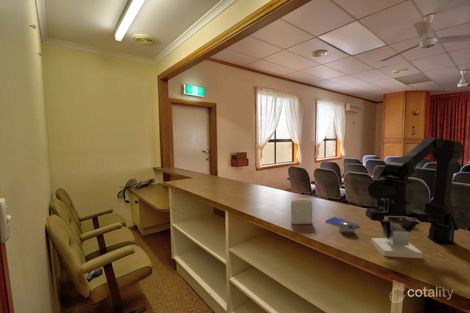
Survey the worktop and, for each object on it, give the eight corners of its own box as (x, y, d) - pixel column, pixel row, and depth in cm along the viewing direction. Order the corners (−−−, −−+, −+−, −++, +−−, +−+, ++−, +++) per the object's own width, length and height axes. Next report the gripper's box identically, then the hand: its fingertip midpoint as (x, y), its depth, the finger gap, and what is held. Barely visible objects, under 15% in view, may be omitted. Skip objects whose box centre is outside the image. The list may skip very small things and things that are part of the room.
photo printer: (292, 224, 106) (292, 199, 105) (290, 221, 111) (290, 197, 110) (313, 224, 106) (313, 199, 105) (310, 221, 111) (310, 197, 110)
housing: (408, 245, 77) (409, 230, 77) (392, 244, 78) (393, 229, 77) (397, 236, 84) (397, 222, 84) (382, 236, 85) (383, 222, 84)
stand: (404, 244, 85) (404, 239, 85) (422, 258, 75) (422, 252, 75) (370, 242, 87) (371, 237, 87) (383, 256, 77) (384, 250, 77)
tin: (347, 229, 100) (347, 220, 100) (357, 234, 95) (358, 225, 94) (336, 230, 99) (336, 221, 99) (345, 235, 93) (346, 226, 93)
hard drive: (359, 223, 104) (334, 216, 114) (350, 228, 99) (325, 220, 109) (359, 227, 104) (334, 219, 114) (350, 231, 99) (325, 223, 109)
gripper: (411, 191, 86) (409, 230, 87) (360, 190, 89) (359, 228, 90) (432, 199, 75) (430, 243, 76) (372, 197, 78) (371, 240, 79)
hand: (395, 238), depth 81 cm, fingers closed on housing, 5 cm apart
